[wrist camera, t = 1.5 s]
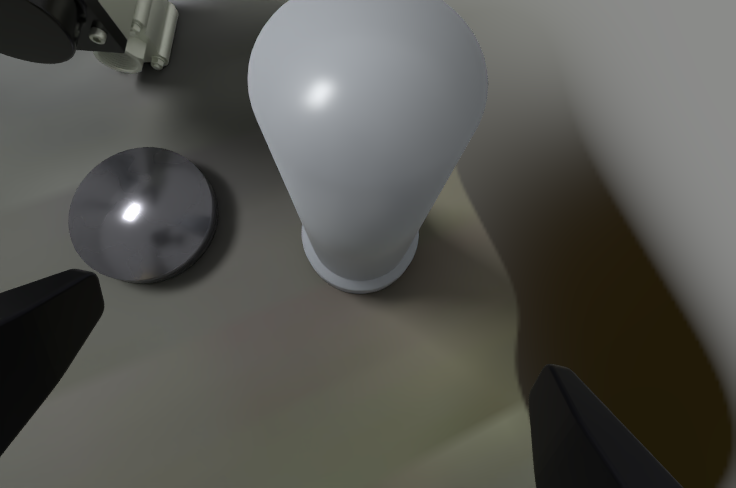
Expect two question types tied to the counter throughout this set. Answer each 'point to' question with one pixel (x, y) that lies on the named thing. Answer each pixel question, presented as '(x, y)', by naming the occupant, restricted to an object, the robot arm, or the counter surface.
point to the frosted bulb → (365, 124)
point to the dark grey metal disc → (143, 215)
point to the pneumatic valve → (89, 31)
